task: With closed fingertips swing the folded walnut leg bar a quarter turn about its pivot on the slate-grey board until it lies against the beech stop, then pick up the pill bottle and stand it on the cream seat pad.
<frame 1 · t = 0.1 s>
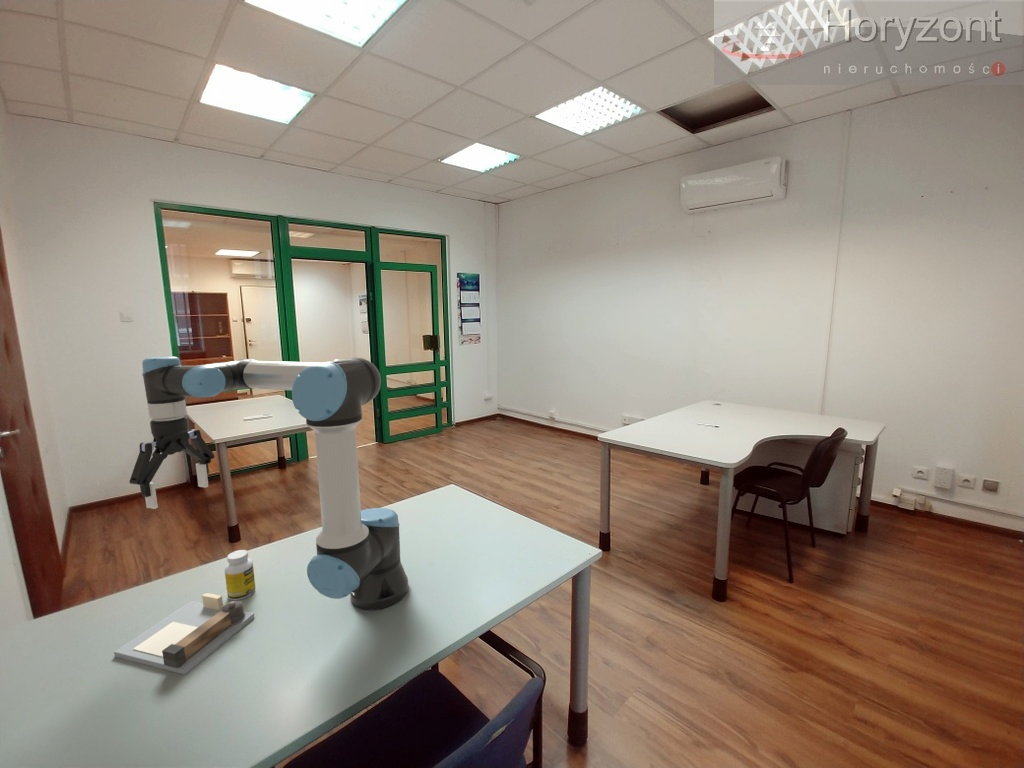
hand: (179, 496, 115), 28 cm above the table, fingers open, 13 cm apart
board: (188, 636, 103), on the table
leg: (207, 629, 101), point 4 cm above the table, hinge at 90.0°
pill bottle: (242, 594, 119), on the table
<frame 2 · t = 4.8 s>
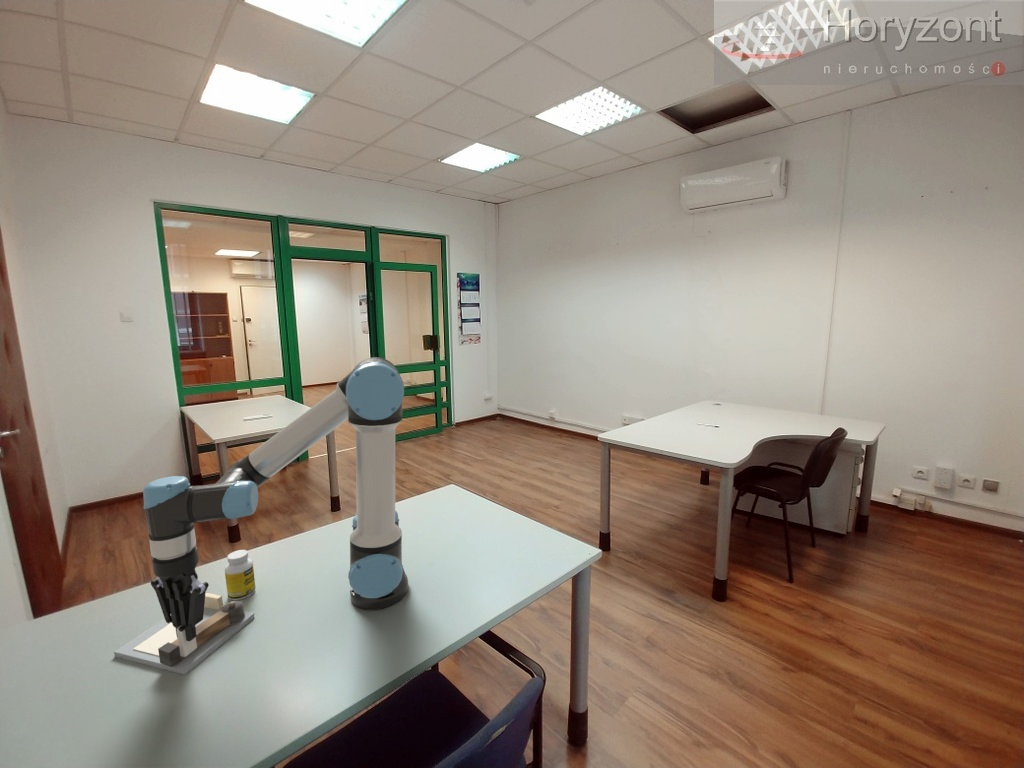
hand: (188, 651, 95), 3 cm above the table, fingers closed
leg: (205, 628, 101), point 4 cm above the table, hinge at 84.8°, touching gripper
everything else where it was.
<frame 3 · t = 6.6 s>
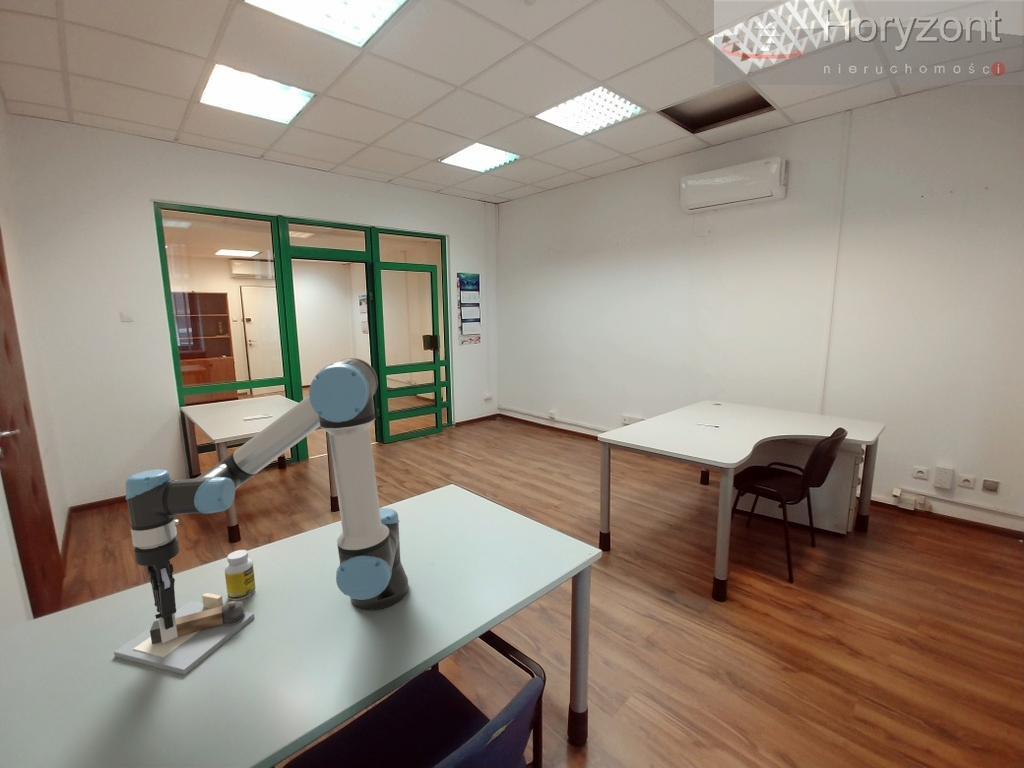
hand: (169, 638, 99), 2 cm above the table, fingers closed
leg: (199, 619, 104), point 4 cm above the table, hinge at 42.1°, touching gripper
everything else where it was.
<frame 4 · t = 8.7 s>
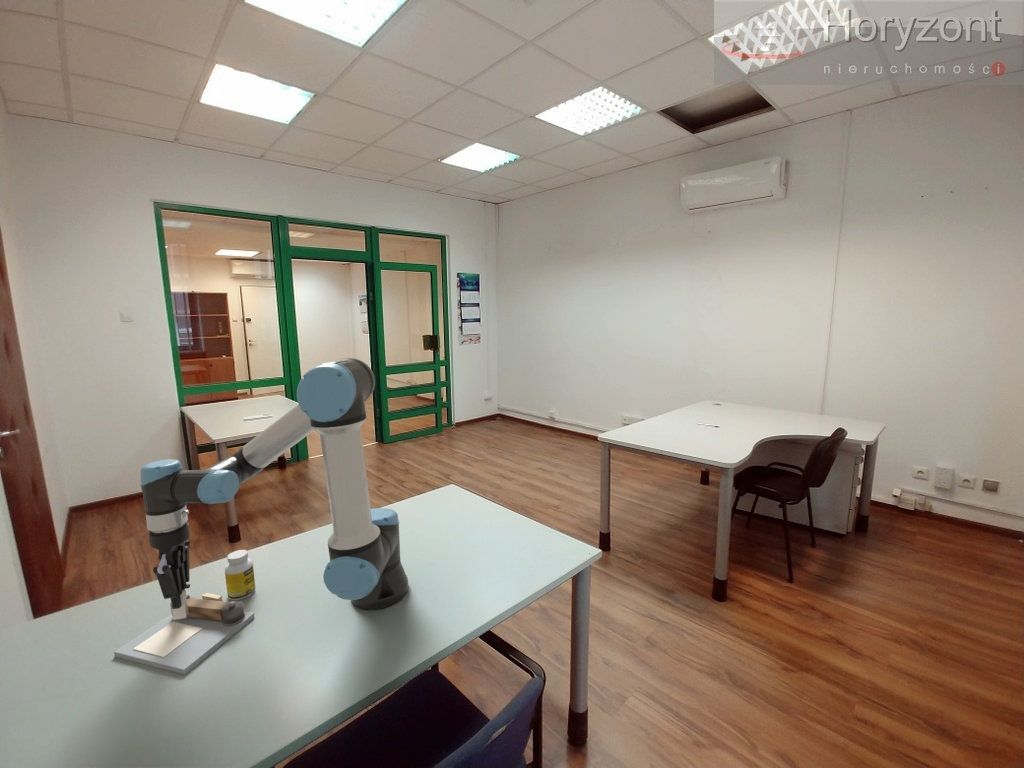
hand: (181, 616, 106), 3 cm above the table, fingers closed
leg: (208, 607, 108), point 4 cm above the table, hinge at 5.9°, touching gripper
everything else where it was.
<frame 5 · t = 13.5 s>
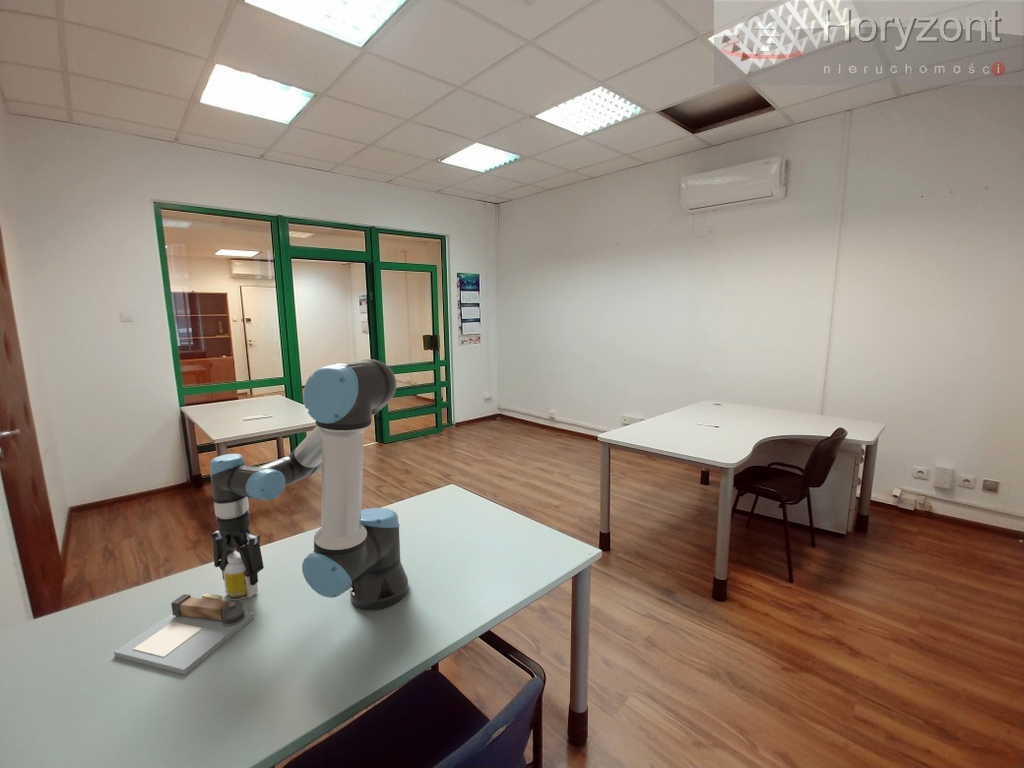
hand: (241, 592, 119), 0 cm above the table, fingers closed on pill bottle, 6 cm apart
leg: (208, 607, 108), point 4 cm above the table, hinge at 5.0°
pill bottle: (242, 594, 119), on the table, touching gripper
when the fingers open (3 cm above the table, at t = 18.8 s): pill bottle drops 1 cm, resting on board.
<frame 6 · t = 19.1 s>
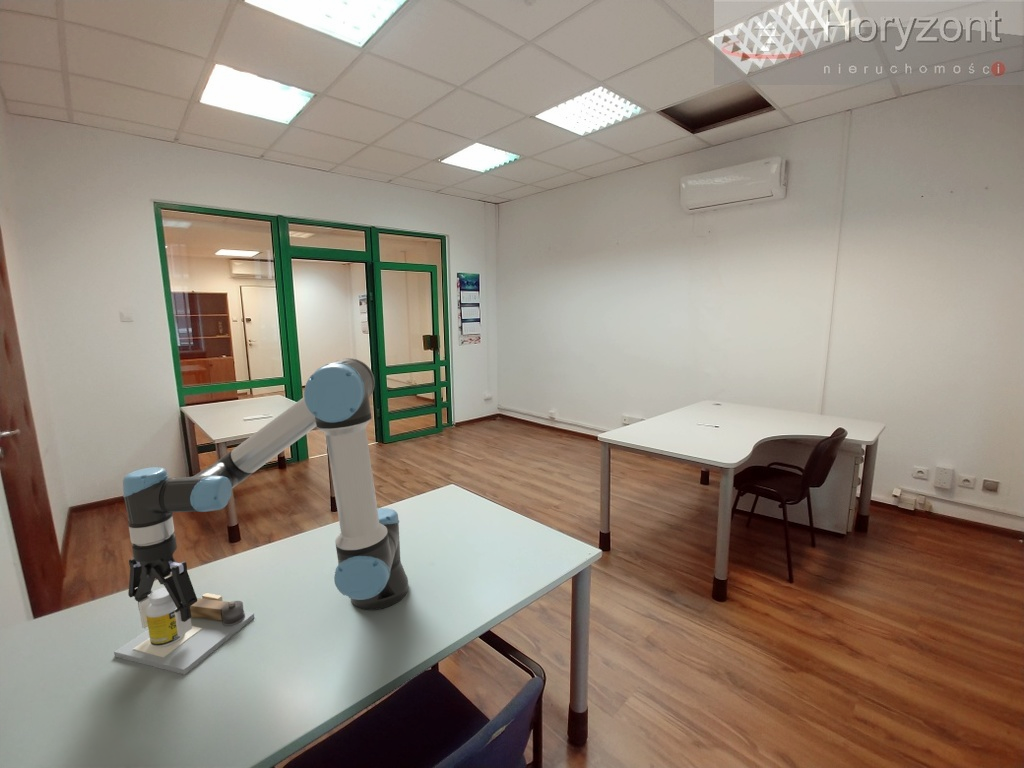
hand: (167, 628, 100), 4 cm above the table, fingers open, 10 cm apart
pill bottle: (169, 638, 101), point 1 cm above the table, touching board
everything else where it was.
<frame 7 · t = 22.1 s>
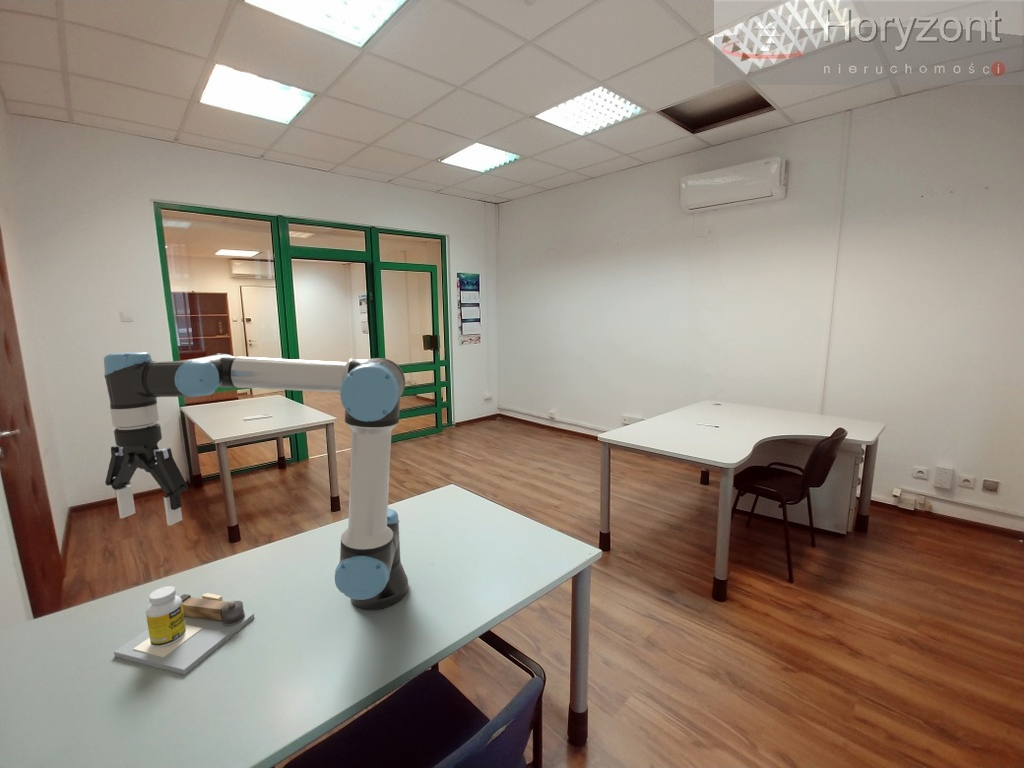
hand: (151, 519, 96), 31 cm above the table, fingers open, 13 cm apart
nothing on the table moved.
at the end: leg at +5° (first picture: +90°); pill bottle inside the target area (0.1 cm from its centre), point 1.2 cm above the table; pill bottle tilted 0° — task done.
